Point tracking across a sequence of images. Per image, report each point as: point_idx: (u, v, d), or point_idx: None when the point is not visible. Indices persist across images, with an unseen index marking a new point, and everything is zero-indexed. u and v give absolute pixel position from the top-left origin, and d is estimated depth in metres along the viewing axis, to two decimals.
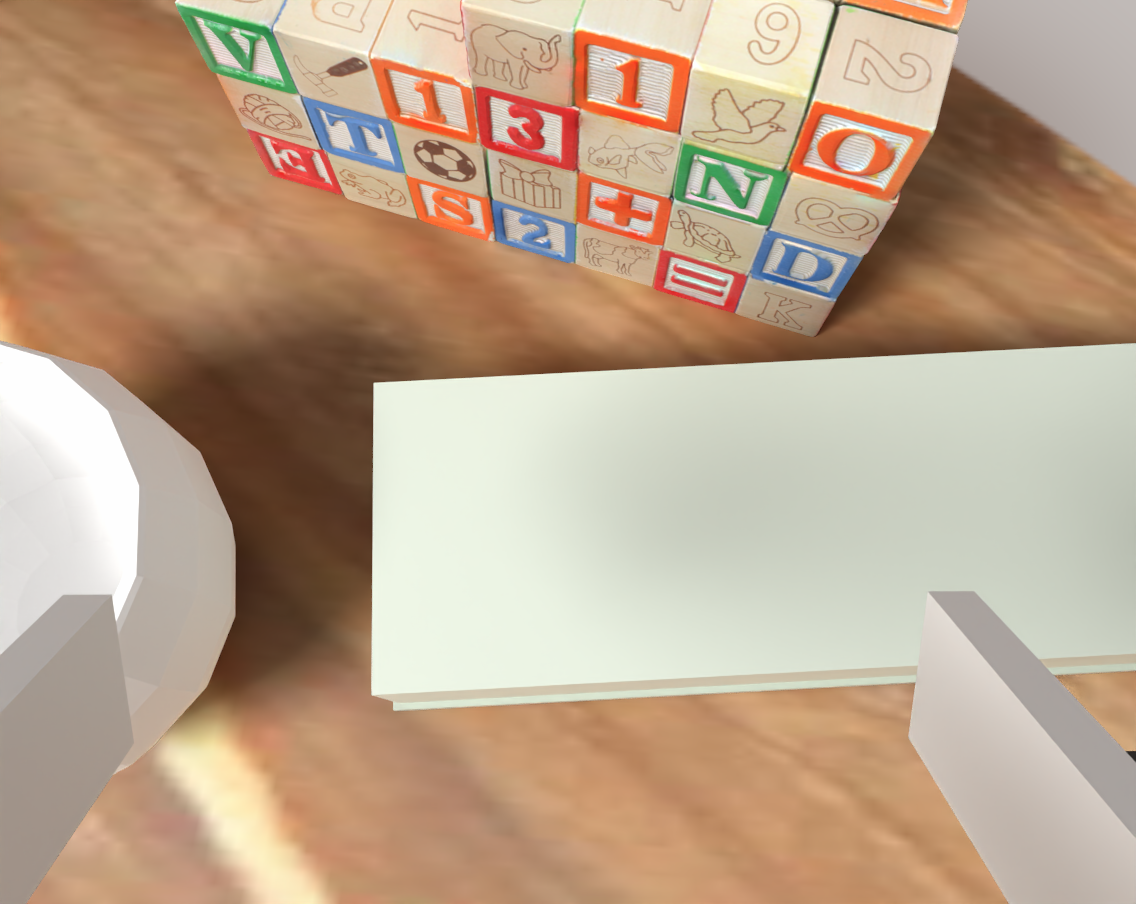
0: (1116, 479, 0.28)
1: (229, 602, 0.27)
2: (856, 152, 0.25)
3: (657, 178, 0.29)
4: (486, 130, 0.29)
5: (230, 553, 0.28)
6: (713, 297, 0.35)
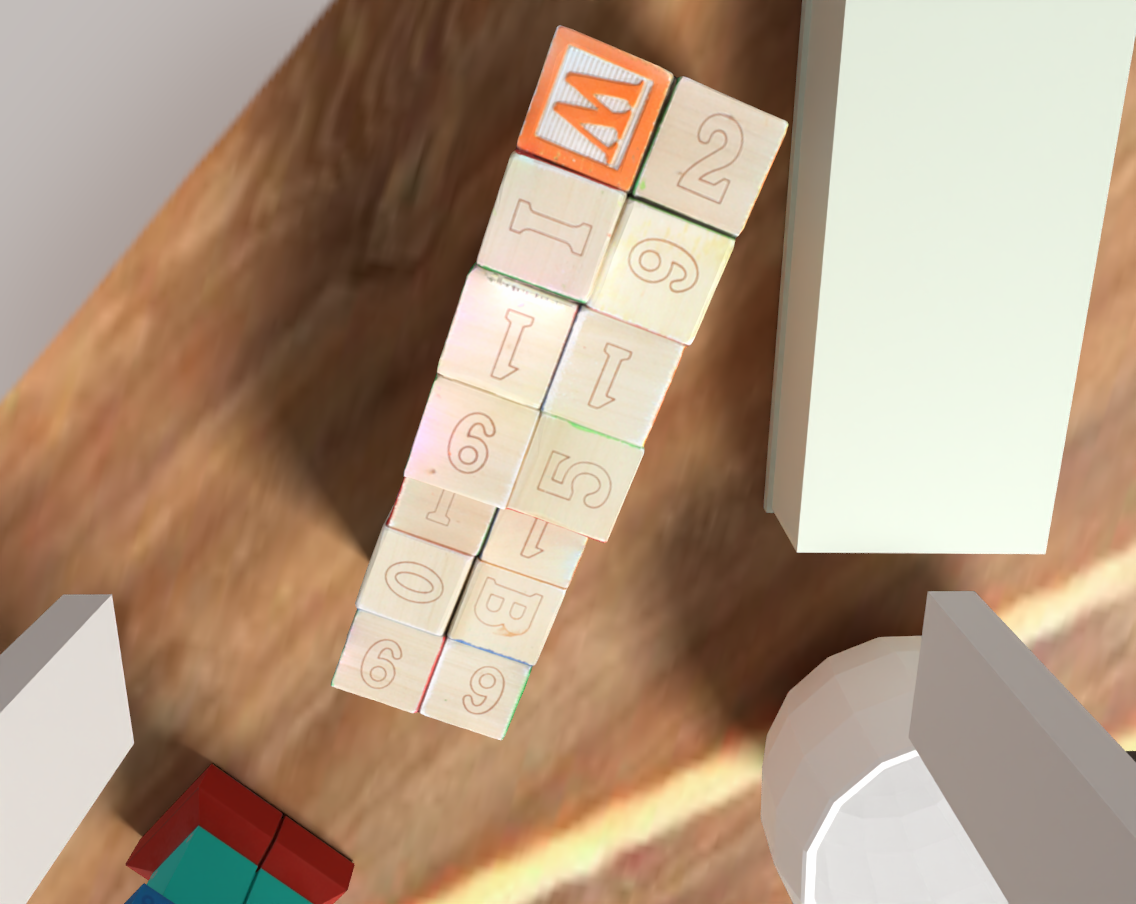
0: None
1: None
2: None
3: None
4: None
5: None
6: None
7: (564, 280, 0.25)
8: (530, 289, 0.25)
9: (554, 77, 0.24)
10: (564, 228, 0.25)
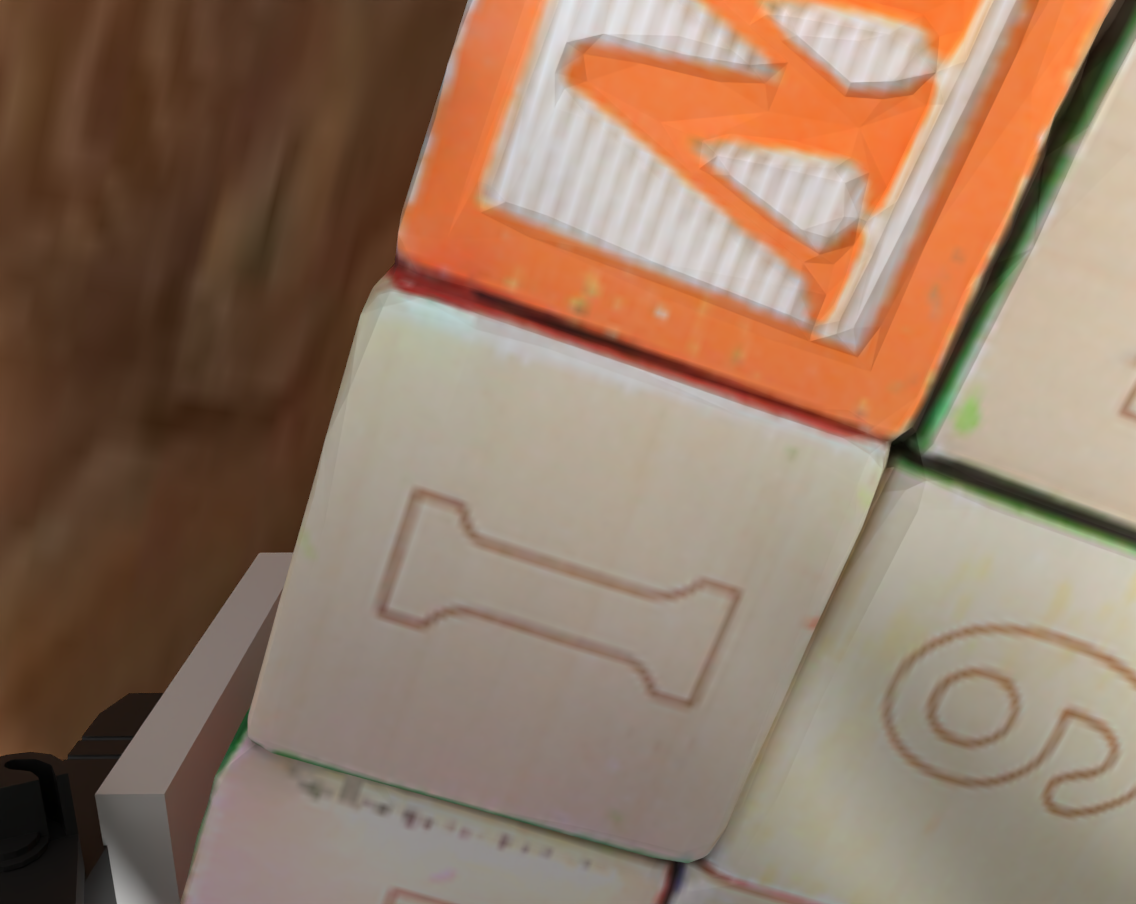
0: None
1: None
2: None
3: None
4: None
5: None
6: None
7: (620, 797, 0.06)
8: (478, 820, 0.06)
9: None
10: (618, 604, 0.06)
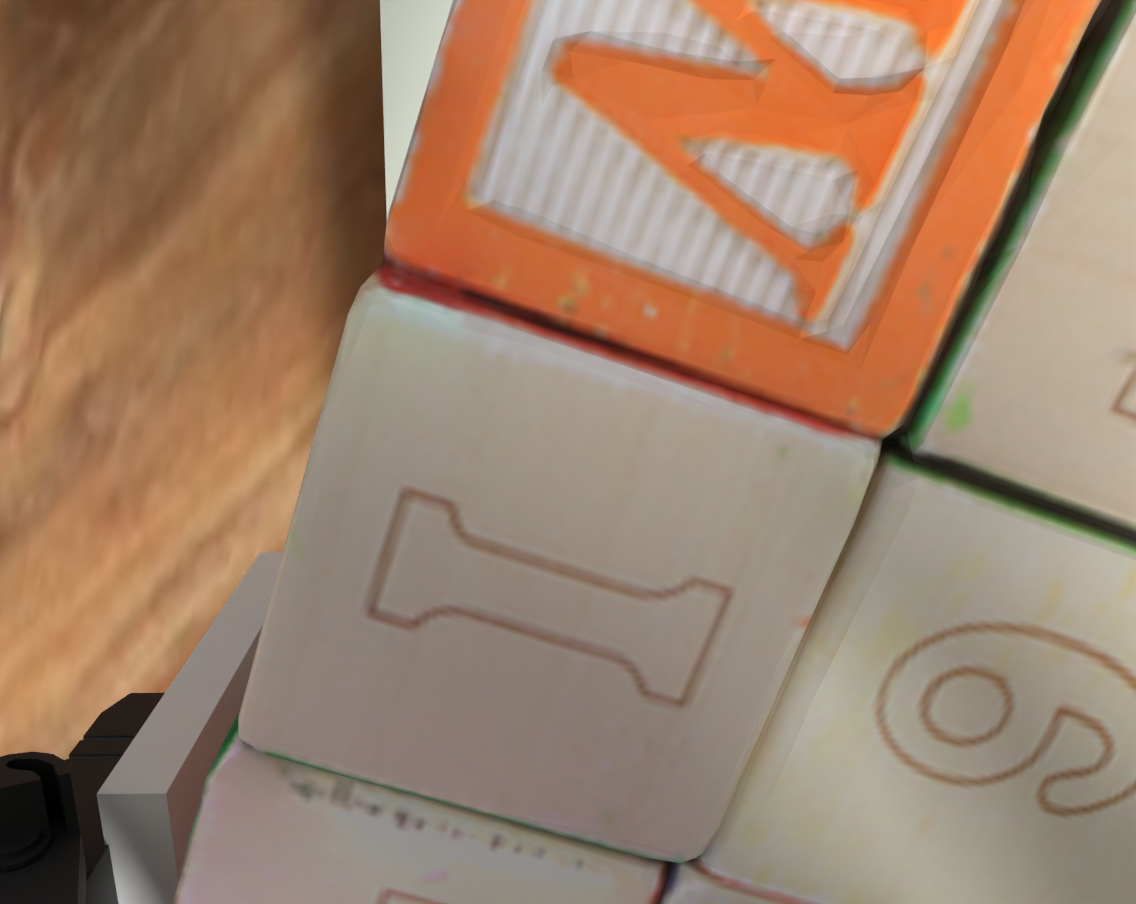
0: None
1: None
2: None
3: None
4: None
5: None
6: None
7: (613, 796, 0.06)
8: (471, 821, 0.06)
9: None
10: (609, 603, 0.06)
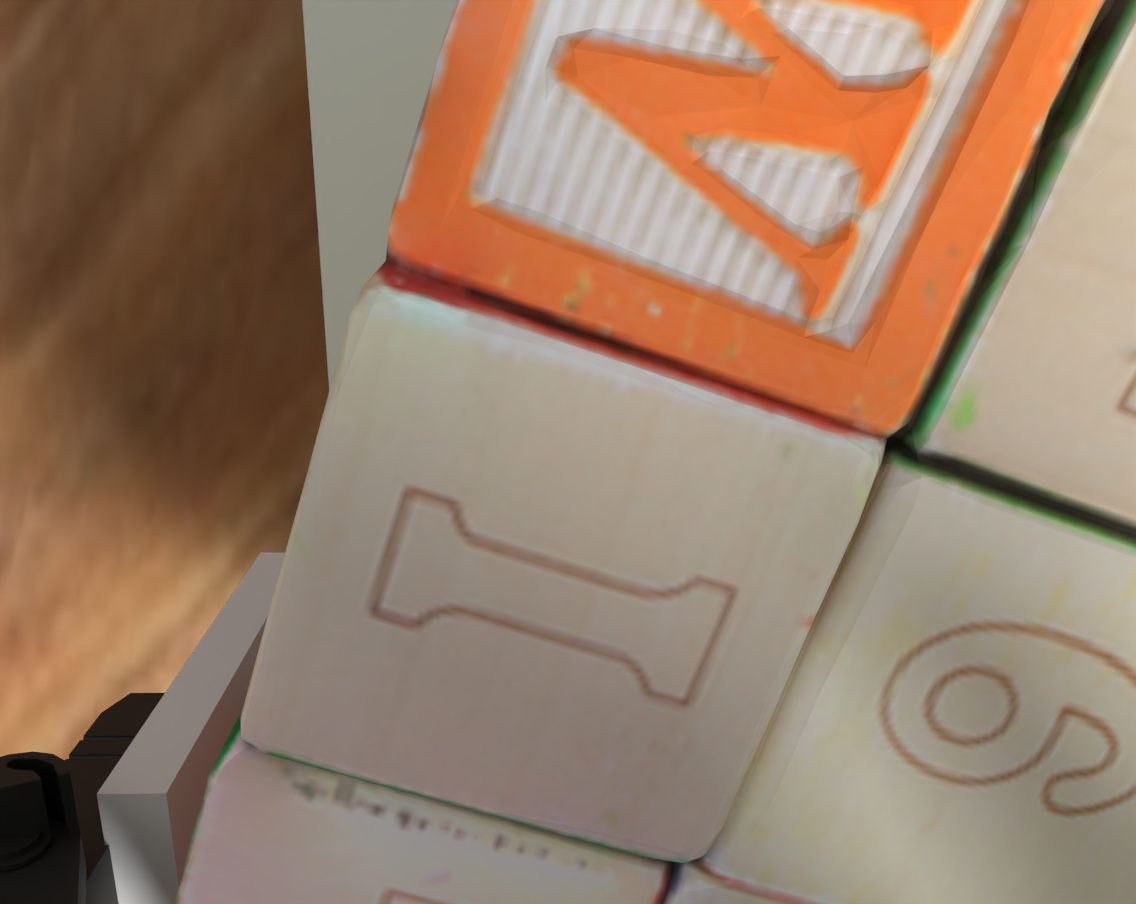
0: None
1: None
2: None
3: None
4: None
5: None
6: None
7: (615, 796, 0.06)
8: (474, 820, 0.06)
9: None
10: (611, 604, 0.06)
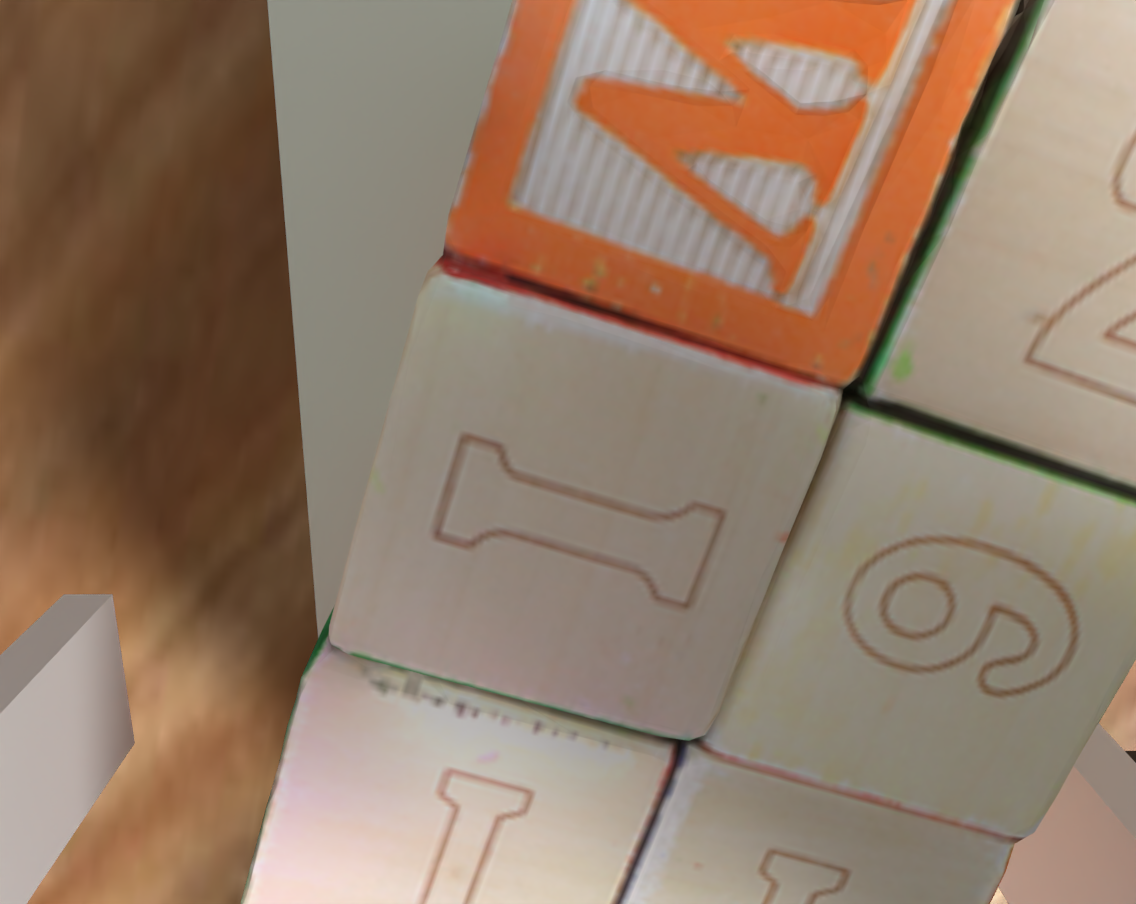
0: None
1: None
2: None
3: None
4: None
5: None
6: None
7: (631, 685, 0.07)
8: (516, 709, 0.08)
9: None
10: (627, 525, 0.07)
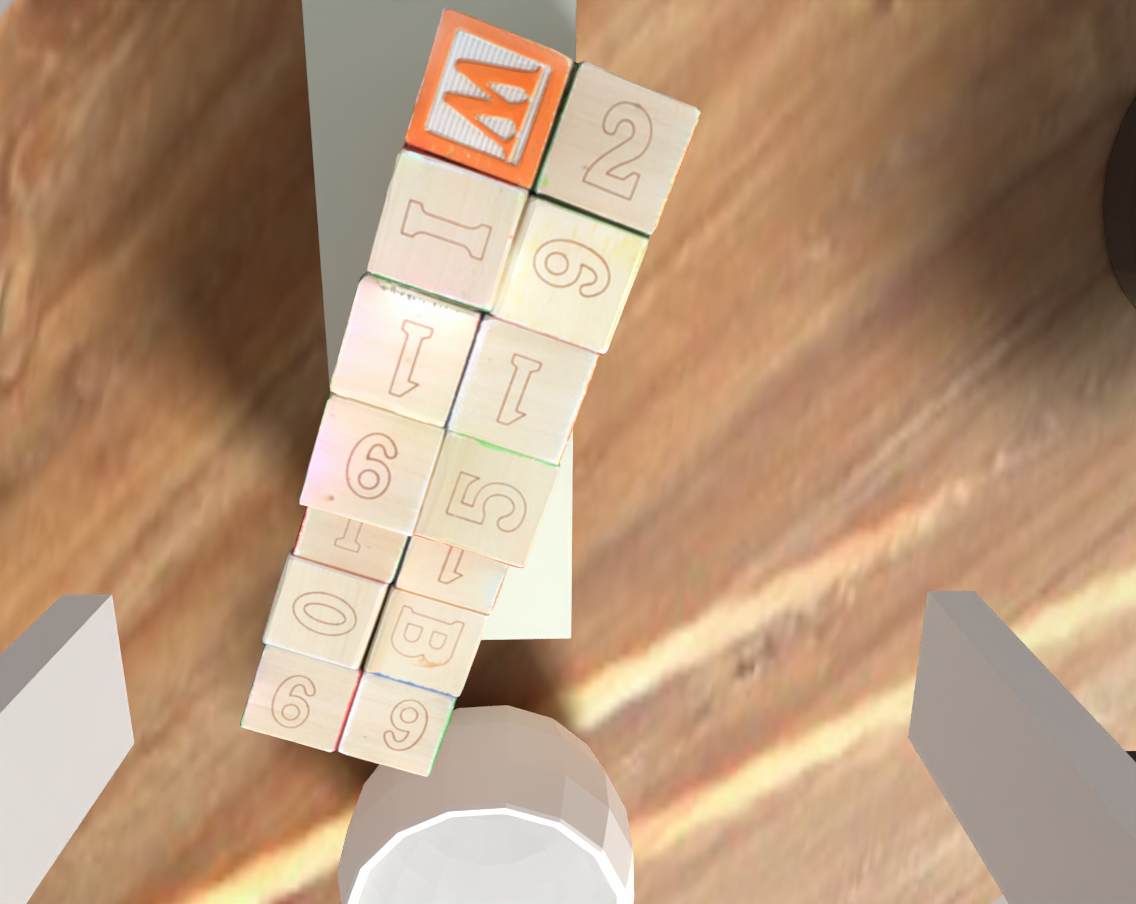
0: None
1: (506, 724, 0.41)
2: None
3: None
4: None
5: (472, 725, 0.41)
6: None
7: (464, 287, 0.23)
8: (427, 298, 0.23)
9: (442, 64, 0.22)
10: (461, 230, 0.23)
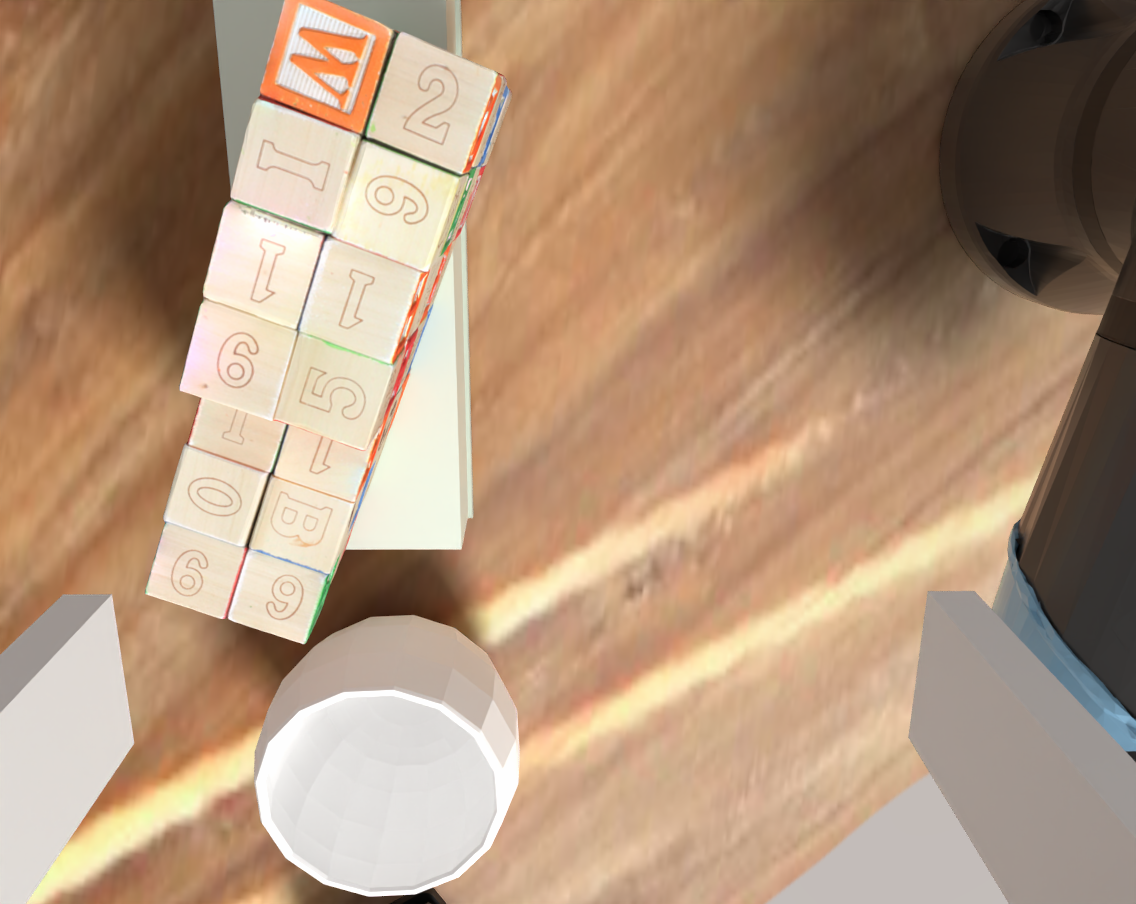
0: None
1: (406, 626, 0.46)
2: None
3: (438, 265, 0.34)
4: (391, 402, 0.36)
5: (377, 627, 0.46)
6: None
7: (309, 212, 0.29)
8: (280, 221, 0.29)
9: (288, 31, 0.27)
10: (305, 166, 0.28)
